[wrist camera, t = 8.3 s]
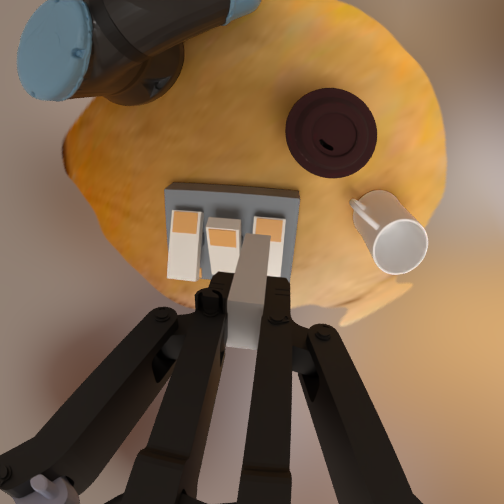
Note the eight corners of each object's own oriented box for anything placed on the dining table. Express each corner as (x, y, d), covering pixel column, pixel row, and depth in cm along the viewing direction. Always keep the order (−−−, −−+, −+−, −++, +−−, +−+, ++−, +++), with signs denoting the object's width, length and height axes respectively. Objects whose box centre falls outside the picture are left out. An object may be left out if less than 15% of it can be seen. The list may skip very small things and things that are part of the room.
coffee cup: (336, 84, 38) (361, 75, 25) (360, 145, 42) (393, 165, 29) (274, 106, 41) (269, 106, 27) (300, 166, 44) (307, 195, 31)
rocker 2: (208, 217, 41) (205, 228, 40) (240, 219, 41) (238, 230, 40) (214, 264, 49) (211, 275, 47) (241, 267, 48) (239, 278, 47)
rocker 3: (254, 216, 44) (253, 216, 42) (285, 219, 44) (285, 219, 42) (249, 283, 46) (247, 287, 43) (278, 286, 45) (278, 290, 43)
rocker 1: (176, 211, 45) (171, 209, 43) (204, 212, 45) (200, 211, 43) (171, 276, 46) (166, 278, 44) (198, 279, 46) (195, 281, 44)
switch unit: (173, 182, 48) (161, 191, 43) (298, 191, 46) (300, 201, 42) (177, 263, 54) (168, 278, 50) (288, 274, 53) (288, 291, 49)
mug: (327, 204, 47) (339, 236, 36) (363, 165, 43) (387, 185, 33) (376, 248, 49) (397, 287, 39) (410, 212, 46) (440, 244, 35)
